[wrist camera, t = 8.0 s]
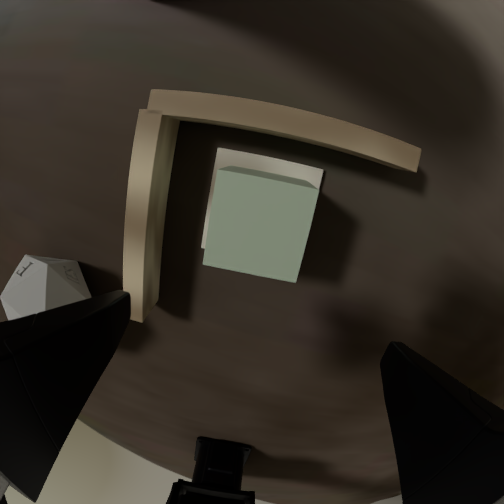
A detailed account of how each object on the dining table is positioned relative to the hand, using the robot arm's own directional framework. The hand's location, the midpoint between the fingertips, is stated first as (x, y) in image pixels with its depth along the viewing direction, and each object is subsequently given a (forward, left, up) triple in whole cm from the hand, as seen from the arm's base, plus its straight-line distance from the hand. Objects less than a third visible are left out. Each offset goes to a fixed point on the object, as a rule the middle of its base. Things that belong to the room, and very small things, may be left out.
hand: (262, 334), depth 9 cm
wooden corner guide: (+1, +1, -12) cm, 12 cm away
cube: (+2, +1, -11) cm, 11 cm away
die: (-8, +16, -12) cm, 22 cm away
